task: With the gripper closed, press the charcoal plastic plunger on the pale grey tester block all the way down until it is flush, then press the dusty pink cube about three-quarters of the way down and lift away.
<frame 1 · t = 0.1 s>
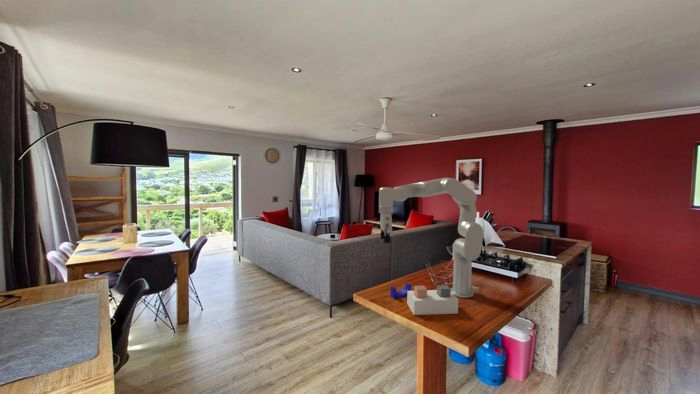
hand: (385, 240, 158), 31 cm above the breakfast bar, tool pointing down, fingers open, 9 cm apart
dusty pink cube: (420, 293, 144), point 8 cm above the breakfast bar, slide at 0.0 cm
tester block: (431, 308, 145), on the breakfast bar
blue curved piece: (400, 295, 161), on the breakfast bar
charcoal plunger: (443, 293, 145), point 8 cm above the breakfast bar, slide at 0.0 cm
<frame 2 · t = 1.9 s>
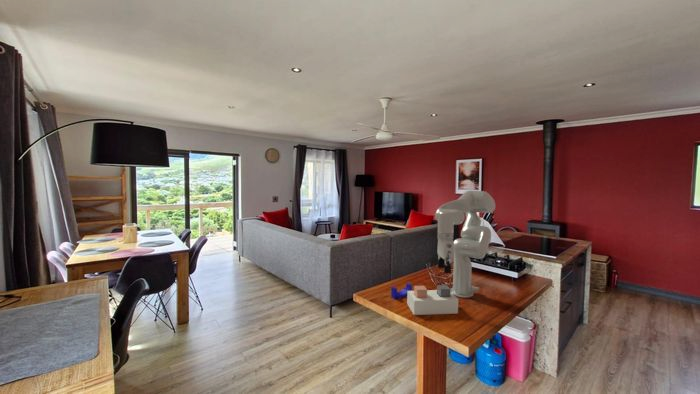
hand: (444, 270, 144), 20 cm above the breakfast bar, tool pointing down, fingers open, 7 cm apart
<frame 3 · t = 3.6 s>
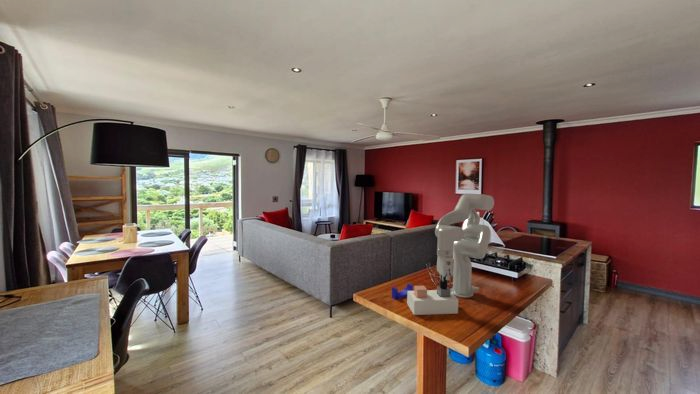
hand: (443, 288, 145), 11 cm above the breakfast bar, tool pointing down, fingers closed
charcoal plunger: (443, 294, 145), point 7 cm above the breakfast bar, slide at 0.5 cm, touching gripper
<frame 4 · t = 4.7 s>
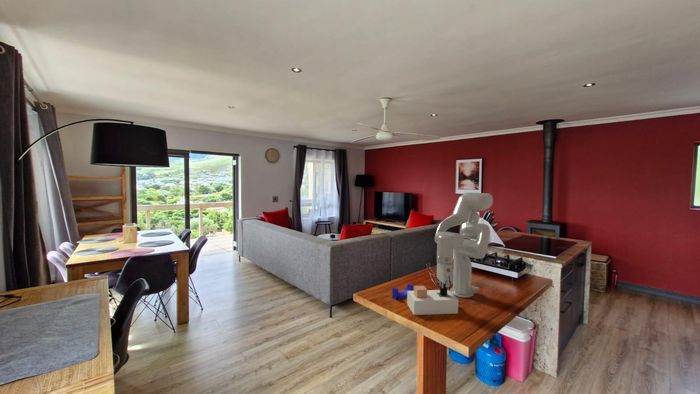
hand: (443, 294, 145), 7 cm above the breakfast bar, tool pointing down, fingers closed
charcoal plunger: (443, 300, 145), point 4 cm above the breakfast bar, slide at 4.0 cm, touching gripper
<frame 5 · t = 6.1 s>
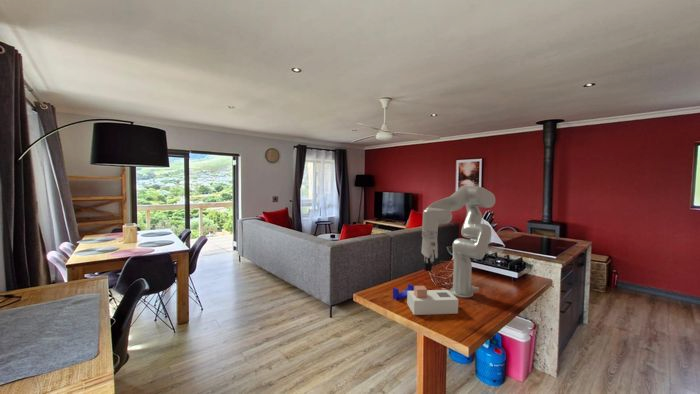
hand: (427, 270, 143), 20 cm above the breakfast bar, tool pointing down, fingers closed
charcoal plunger: (443, 300, 145), point 4 cm above the breakfast bar, slide at 4.0 cm
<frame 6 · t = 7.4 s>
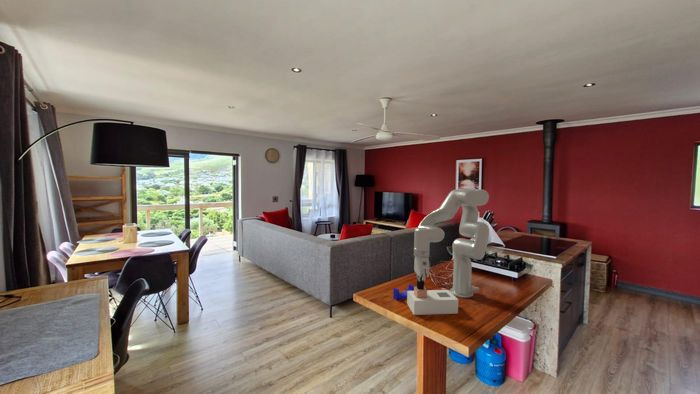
hand: (420, 288, 144), 11 cm above the breakfast bar, tool pointing down, fingers closed
dusty pink cube: (420, 294, 144), point 7 cm above the breakfast bar, slide at 0.4 cm, touching gripper
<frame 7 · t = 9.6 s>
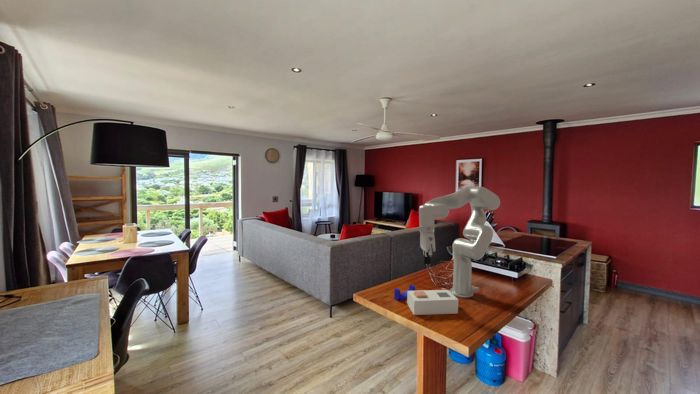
hand: (427, 263, 149), 22 cm above the breakfast bar, tool pointing down, fingers closed
dusty pink cube: (420, 299, 144), point 5 cm above the breakfast bar, slide at 2.9 cm
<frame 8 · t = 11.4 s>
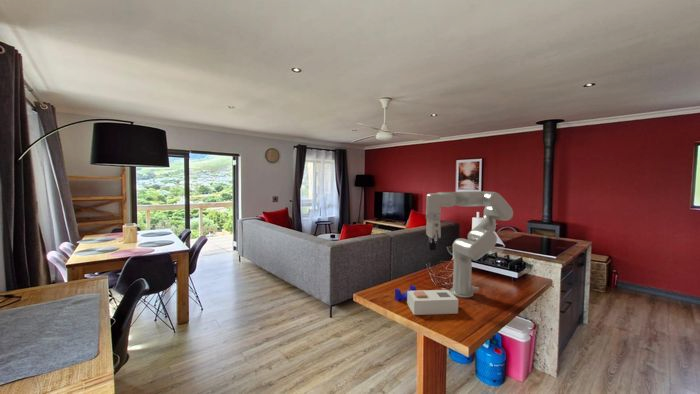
hand: (432, 249, 155), 27 cm above the breakfast bar, tool pointing down, fingers closed
at the end: charcoal plunger slide at 4.0 cm; dusty pink cube slide at 2.9 cm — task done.
